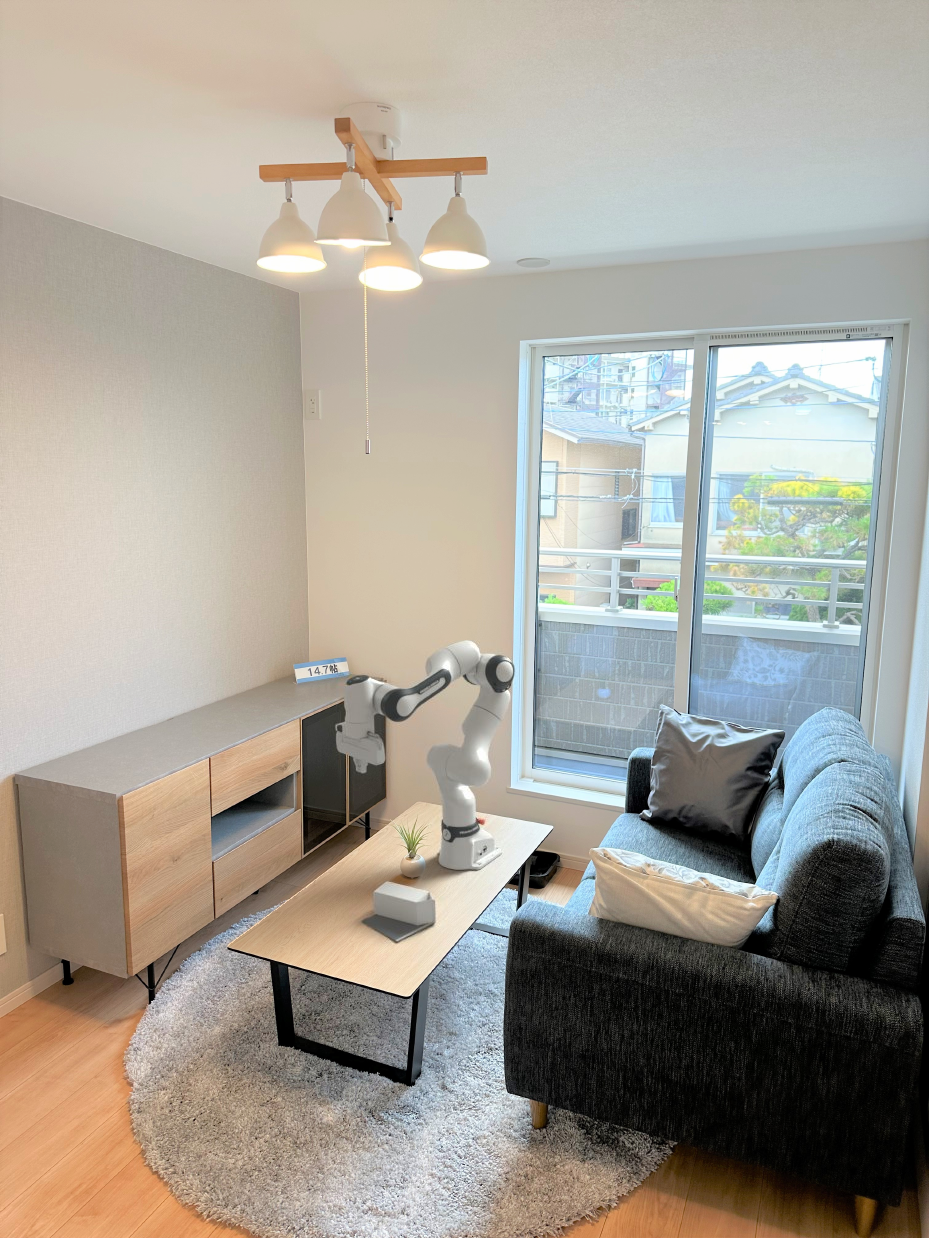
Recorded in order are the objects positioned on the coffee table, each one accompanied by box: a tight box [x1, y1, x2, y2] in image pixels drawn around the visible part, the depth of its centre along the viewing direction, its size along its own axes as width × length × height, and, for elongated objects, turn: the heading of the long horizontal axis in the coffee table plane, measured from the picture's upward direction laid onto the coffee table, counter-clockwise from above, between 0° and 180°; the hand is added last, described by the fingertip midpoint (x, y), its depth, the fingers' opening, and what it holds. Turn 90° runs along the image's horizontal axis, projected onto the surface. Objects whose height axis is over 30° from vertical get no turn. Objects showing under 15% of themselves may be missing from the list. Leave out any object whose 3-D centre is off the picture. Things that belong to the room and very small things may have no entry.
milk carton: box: [373, 881, 437, 926], centre depth 241 cm, size 7×7×19 cm
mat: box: [361, 914, 436, 944], centre depth 239 cm, size 14×16×1 cm
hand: (361, 771), depth 256 cm, fingers closed
